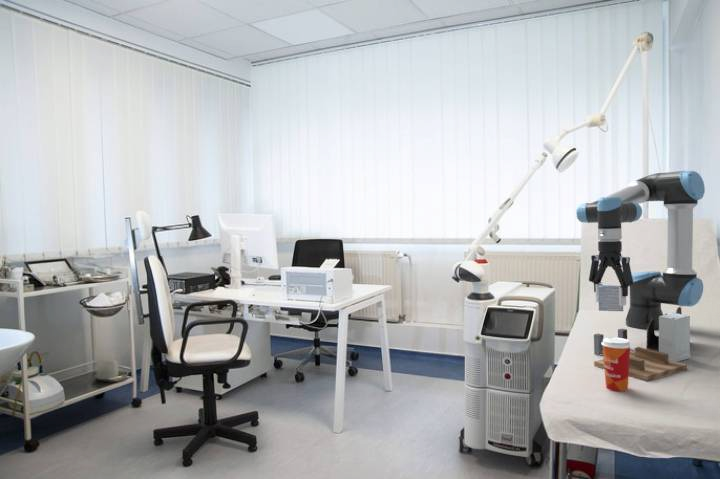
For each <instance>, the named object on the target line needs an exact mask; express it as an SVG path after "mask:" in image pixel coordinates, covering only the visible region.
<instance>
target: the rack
mask: <svg viewBox="0 0 720 479" xmlns="http://www.w3.org/2000/svg"><path fill="white" fill-rule="evenodd" d="M604 338H605V337H604V334H603V333H595V334H593V350H594V351H593V354H594V355H596V354H598V355H597V356H601V355H600V354H602V355H603V345H602V344H601V343H602V342H603V339H604ZM617 338H623V339H627V340H628V329H626V328H618V329H617Z"/></svg>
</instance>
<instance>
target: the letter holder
mask: <svg viewBox="0 0 720 479" xmlns="http://www.w3.org/2000/svg"><path fill="white" fill-rule="evenodd" d="M675 313H678V314H682V306H679V307H677V309H676V311H675ZM667 314H668V313H665V314H664V315H667ZM655 332H656V329H655V319H652V320H651V321H650V323H649V325H648V328H647V329H646V344H645V345H646V348H645V349H650V350H654V351H658V352H659V335H656V333H655Z"/></svg>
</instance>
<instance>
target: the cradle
mask: <svg viewBox="0 0 720 479" xmlns="http://www.w3.org/2000/svg"><path fill="white" fill-rule="evenodd" d="M593 365H594V367H596V366H597V368H600V369H604V358H603V359H599V360H595V361H594V362H593ZM604 370H605V369H604ZM686 370H688V364H687V363H682V362H679V361H678V362H674V361H670V360H668V354H667V353H662V352H658V351H654V350H650V349H646V348H645V347H641V346H637V347H634V351H631V352H630V358H629V378H634V379H637V380H641V381H645V382H649V381H652V380H655V379H659V378H662V377H666V376H669V375H673V374H675V373H678V372H682V371H686Z"/></svg>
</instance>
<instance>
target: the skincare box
mask: <svg viewBox="0 0 720 479" xmlns="http://www.w3.org/2000/svg"><path fill="white" fill-rule="evenodd" d="M666 314H667V315H665V314H663V316H659V329H658V336H659V352H662V353H667V354H668V360H670V361H674V362H678V363H679V362H681V361H684V360H688V359H690V358H691V357H690V356H691V316H690V315H687V314H678V313H676V312H671V313H666Z"/></svg>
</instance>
